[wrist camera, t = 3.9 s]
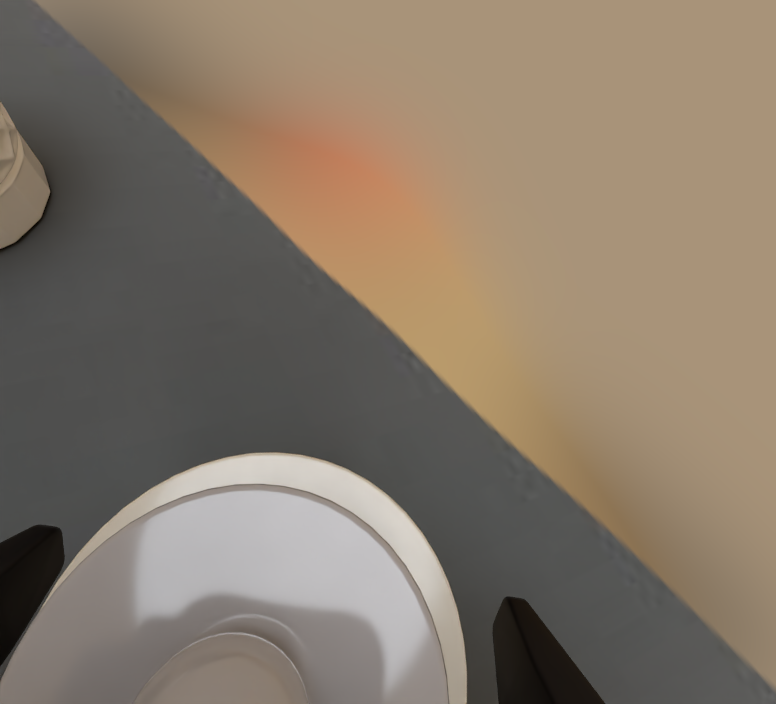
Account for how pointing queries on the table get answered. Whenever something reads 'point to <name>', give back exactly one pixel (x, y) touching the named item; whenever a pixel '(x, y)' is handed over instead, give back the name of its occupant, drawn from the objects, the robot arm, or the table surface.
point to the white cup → (18, 184)
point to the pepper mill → (249, 598)
